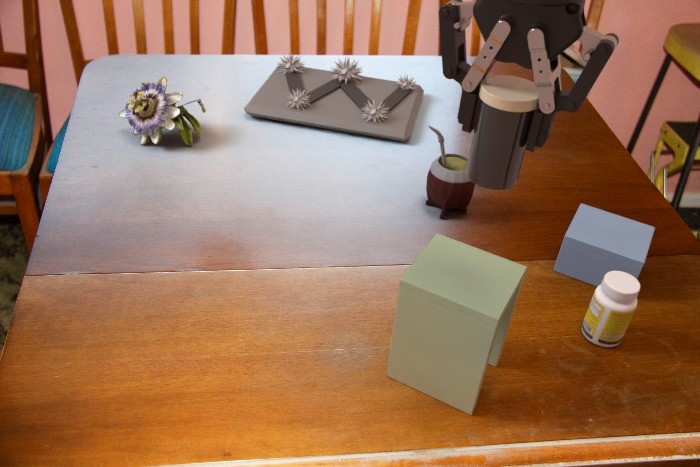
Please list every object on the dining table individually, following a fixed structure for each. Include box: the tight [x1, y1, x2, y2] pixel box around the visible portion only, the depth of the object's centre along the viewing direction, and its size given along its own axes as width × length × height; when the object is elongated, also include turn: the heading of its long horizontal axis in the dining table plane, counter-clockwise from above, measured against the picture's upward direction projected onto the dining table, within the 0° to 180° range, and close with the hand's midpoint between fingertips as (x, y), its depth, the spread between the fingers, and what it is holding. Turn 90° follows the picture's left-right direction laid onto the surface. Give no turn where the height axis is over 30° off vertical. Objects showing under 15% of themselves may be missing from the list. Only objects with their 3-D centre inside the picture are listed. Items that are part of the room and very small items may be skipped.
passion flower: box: [118, 75, 207, 147], centre depth 108 cm, size 11×11×12 cm
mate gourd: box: [425, 125, 476, 221], centre depth 93 cm, size 8×8×15 cm
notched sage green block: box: [385, 233, 528, 416], centre depth 69 cm, size 10×9×14 cm
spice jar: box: [466, 74, 539, 191], centre depth 56 cm, size 5×5×8 cm
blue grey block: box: [553, 203, 656, 288], centre depth 88 cm, size 10×9×6 cm
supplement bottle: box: [581, 271, 641, 348], centre depth 76 cm, size 5×5×8 cm
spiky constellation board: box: [243, 53, 425, 142], centre depth 121 cm, size 30×22×7 cm
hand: (500, 137), depth 56 cm, fingers closed on spice jar, 5 cm apart
